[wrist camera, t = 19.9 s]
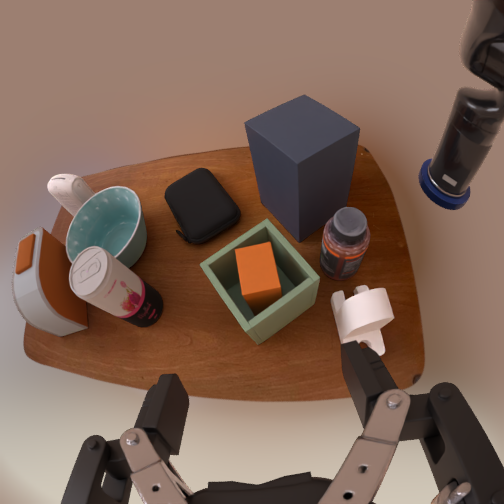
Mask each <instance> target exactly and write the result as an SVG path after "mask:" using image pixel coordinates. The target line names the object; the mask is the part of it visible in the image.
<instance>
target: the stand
mask: <svg viewBox="0 0 504 504" xmlns="http://www.w3.org/2000/svg"><path fill="white" fill-rule="evenodd" d="M245 128H246V133H247V137H248V141H249V146H250V151H251V156H252V160H253V165H254V170H255V174H256V179H257V184H258V189H259V193H260V198H261V203H262V204H263V205H264V206H265V207H266V208H267V209H268V210H269V211H270V212H271V213H272V214H273V215H274V216H275V217H276V218H277V220H278V221H279V222H280V223H281V224H282V225H283V226H284V227H285V228H286V229H287V230H288V231H289V232H290V233H291V235H292V236H293V237H294V238H295V239H296V240H297V241H298V242H299V243H300V242H301V241H303V240H304V239H305V238H307V237H308V236H309V235H311V234H312V233H314V232H315V231H316V230H318V229H319V228H321V227H322V226H323V225H325V224H326V223H327V222H328V221H329V219H330V218H332V217H333V216H334V215H335V213H336V212H337V211H338V210H340V209H341V208H344V207H346V204H347V199H348V194H349V190H350V185H351V179H352V174H353V169H354V163H355V158H356V152H357V146H358V139H359V133H360V128H359V127H358V126H356V125H355V124H353V123H351V122H350V121H348V120H347V119H345V118H343V117H342V116H340V115H339V114H337V113H335V112H334V111H332V110H330V109H329V108H327V107H326V106H324V105H322V104H320V103H319V102H317V101H315V100H313V99H311V98H310V97H308V96H306V95H302V96H300V97H298V98H295V99H293V100H291V101H288V102H286V103H284V104H282V105H279V106H277V107H275V108H273V109H271V110H269V111H267V112H264V113H263V114H260V115H258V116H256V117H255V118H252V119H250V120H248V121H246V122H245Z"/></svg>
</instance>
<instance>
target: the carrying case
mask: <svg viewBox="0 0 504 504" xmlns="http://www.w3.org/2000/svg"><path fill="white" fill-rule="evenodd" d="M164 197H165V199H166V201H167V203H168V205H169V207H170V209H171V211H172V212H173V214H174V216H175V218H176V220H177V222H178V224H179V225H180V227H181V229H182V231H183V233H184V235H185V236H186V237H185V236H184V235H183V234H182V233H181V232H180V231H178V230H176V232H177V234H178V235H179V236H180V237H181V238H182V239H183V240H185V241H186V242H188V243H194V244H201V243H204V242H206V241H207V240H209V239H211V238H212V237H214V236H215V235H217V234H219V233H220V232H222V231H224V230H225V229H227V228H229V227H230V226H232V225H233V224H235V223H236V222H237V221H238V220H239V218H240V215H241V212H240V209H239V207H238V206H237V205H236V203H235V202H234V201H233V200H232V198H231V197H230V196H229V195H228V193H227V192H226V191H225V190H224V188H223V187H222V186H221V184H220V183H219V182H218V181H217V179H216V178H215V177H214V175H213V174H212V173H211V172H210V171H209V170H208V169H205V168H199V169H196V170H195V171H193V172H191V173H189V174H188V175H186V176H184V177H183V178H181V179H179V180H177V181H176V182H174V183H173V184H171V185H170V186H168V188H167V189H166V191H165V196H164Z"/></svg>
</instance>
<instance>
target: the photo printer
mask: <svg viewBox="0 0 504 504" xmlns="http://www.w3.org/2000/svg"><path fill="white" fill-rule="evenodd" d="M48 190H49V192H50V193H51V194H52V195H53V197H54V198H55V199H57V201H59V203H61V205H62V206H63V207H64V208H65V209H66V210H67V211H68V212H69V213H70V214H72V215H73V216H75V215H76V213H77V212H78V210H79V209H80V208H81V207H82V205H83V204H84V203H85V202H86V201H88V200H89V199H90V198H91V197H92V196H94V195H95V193H94V192H93V190H92V189H91V188H90V187H89V186H88V185H87V183H86V182H85V181H84V180H83V179H82V178H81V177H79V176H76V175H72V174H59V175H56V176H54V177H52V178H51V179H50V181H49V182H48Z"/></svg>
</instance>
